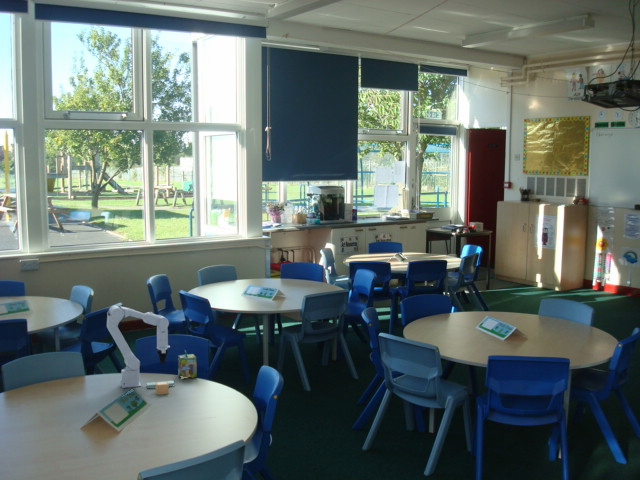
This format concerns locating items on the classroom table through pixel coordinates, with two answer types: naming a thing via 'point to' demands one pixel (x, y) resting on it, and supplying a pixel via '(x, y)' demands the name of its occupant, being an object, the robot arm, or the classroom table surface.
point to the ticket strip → (153, 384)
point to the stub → (162, 388)
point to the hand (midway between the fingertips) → (162, 363)
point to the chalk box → (187, 365)
